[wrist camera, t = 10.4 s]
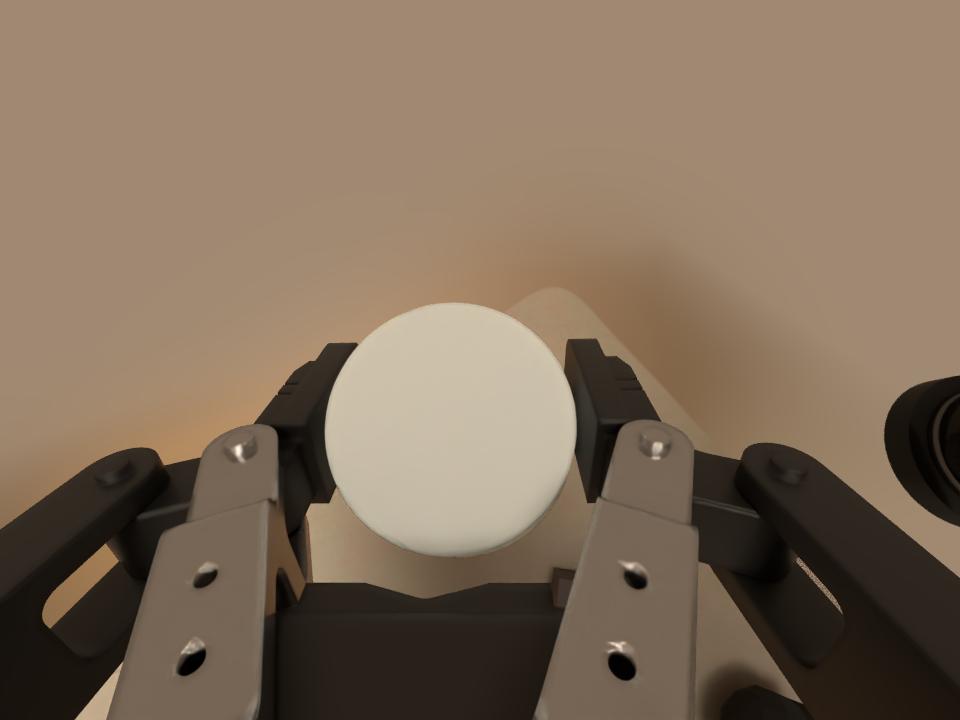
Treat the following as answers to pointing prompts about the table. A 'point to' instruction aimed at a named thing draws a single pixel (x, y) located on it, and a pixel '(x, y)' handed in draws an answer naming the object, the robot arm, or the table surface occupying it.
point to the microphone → (762, 706)
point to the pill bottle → (451, 430)
